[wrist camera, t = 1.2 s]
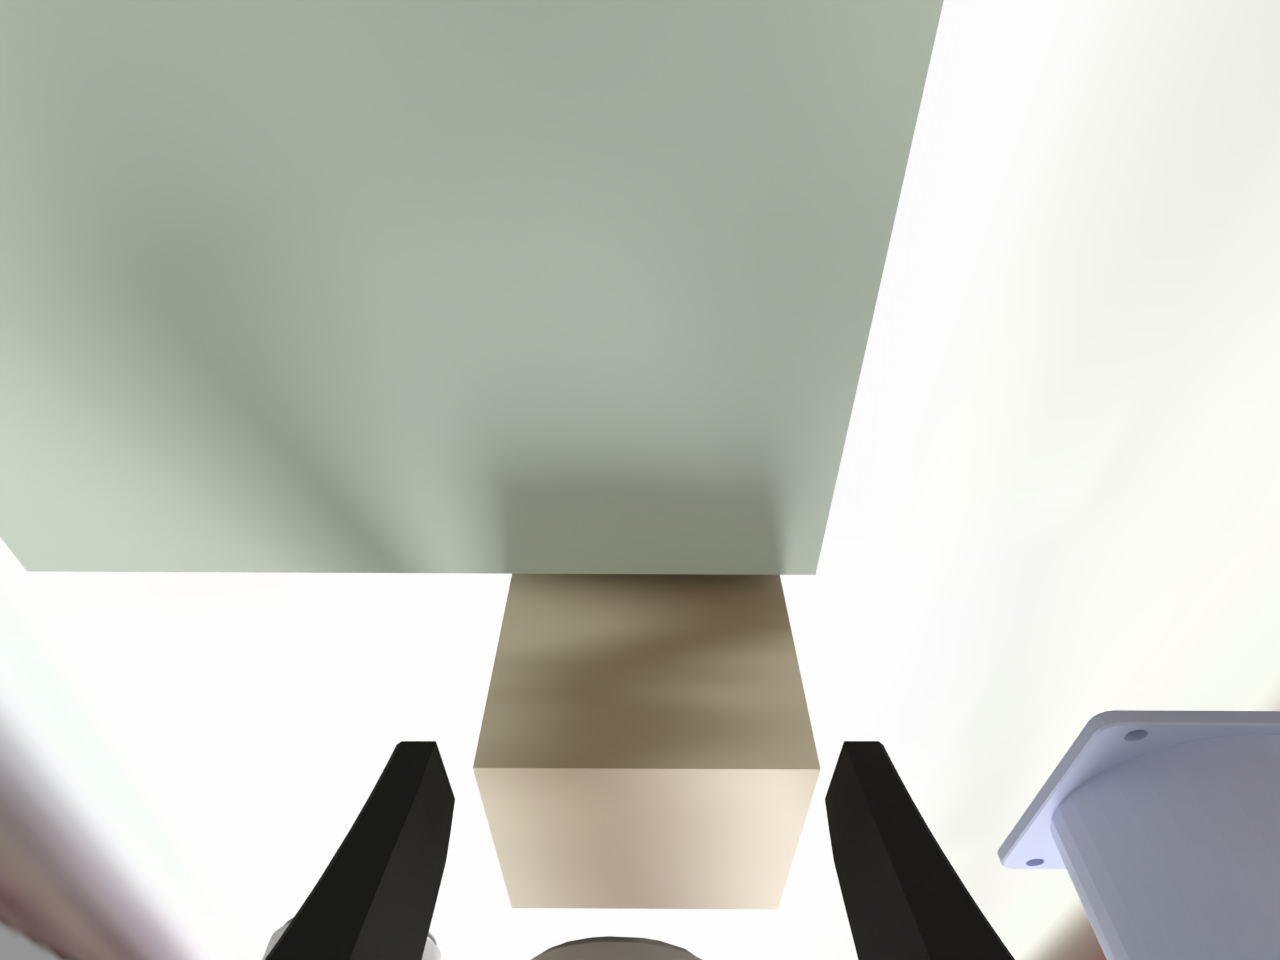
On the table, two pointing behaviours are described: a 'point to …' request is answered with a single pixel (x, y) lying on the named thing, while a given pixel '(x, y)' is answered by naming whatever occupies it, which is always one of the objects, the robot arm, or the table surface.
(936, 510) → the table surface
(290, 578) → the table surface
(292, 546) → the base
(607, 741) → the block
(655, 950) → the travel mug
